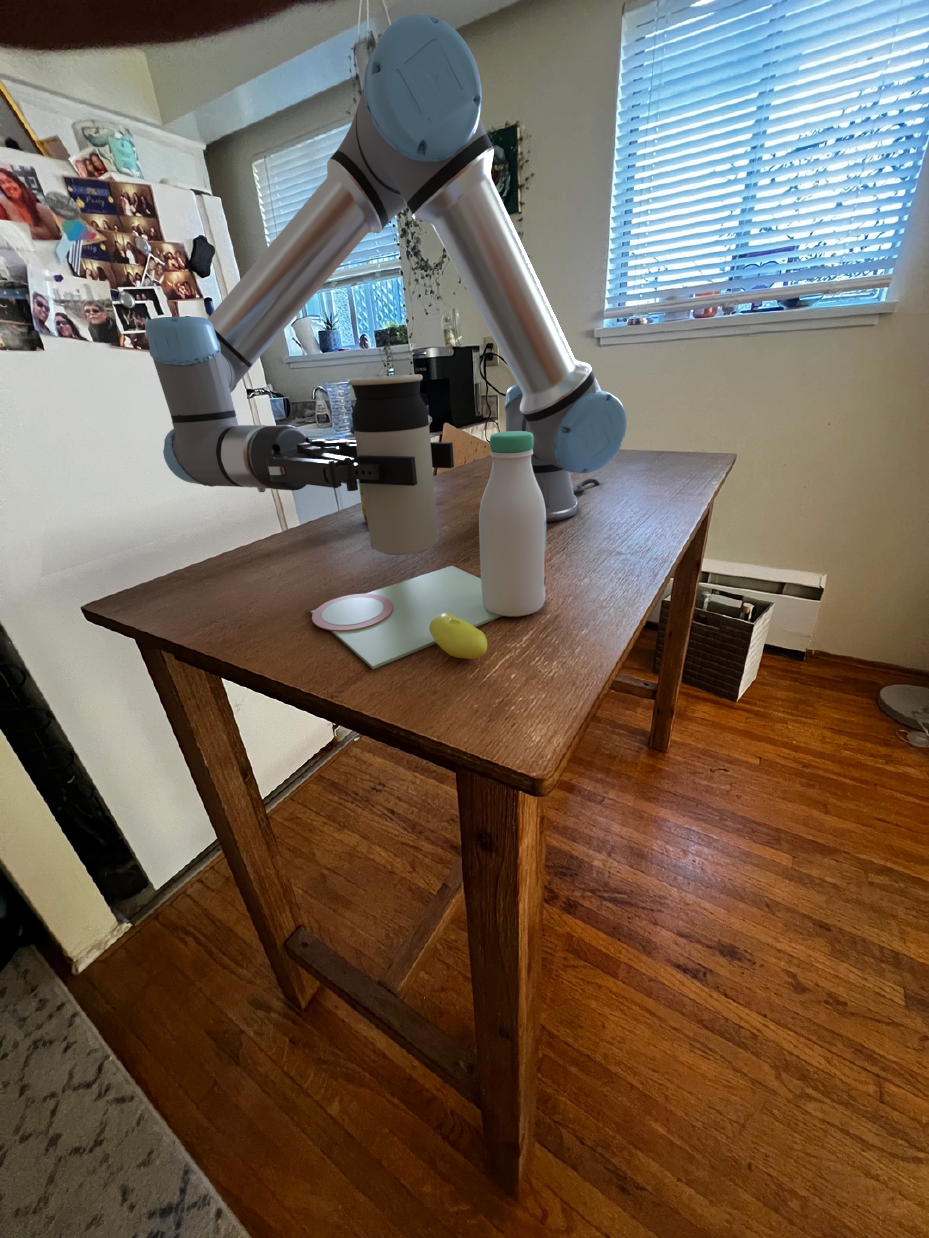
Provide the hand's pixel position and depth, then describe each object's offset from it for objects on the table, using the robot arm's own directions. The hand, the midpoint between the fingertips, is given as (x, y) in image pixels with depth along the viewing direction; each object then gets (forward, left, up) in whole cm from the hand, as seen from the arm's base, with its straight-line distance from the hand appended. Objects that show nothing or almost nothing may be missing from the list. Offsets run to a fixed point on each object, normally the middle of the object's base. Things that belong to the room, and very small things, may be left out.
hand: (434, 462), depth 53 cm
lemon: (+4, +8, -18) cm, 20 cm away
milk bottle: (-7, +4, -18) cm, 20 cm away
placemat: (+2, -3, -18) cm, 18 cm away
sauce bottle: (-13, -42, -18) cm, 47 cm away
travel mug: (+2, -4, -10) cm, 11 cm away
